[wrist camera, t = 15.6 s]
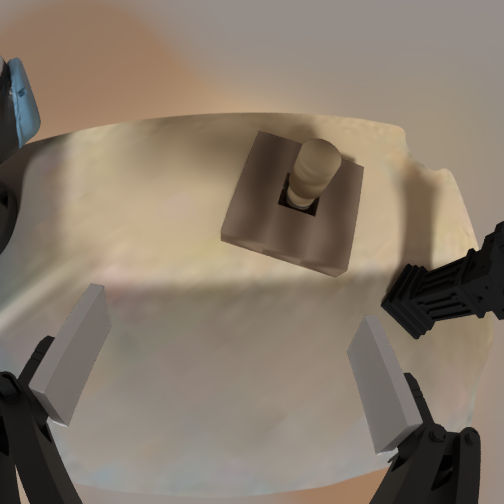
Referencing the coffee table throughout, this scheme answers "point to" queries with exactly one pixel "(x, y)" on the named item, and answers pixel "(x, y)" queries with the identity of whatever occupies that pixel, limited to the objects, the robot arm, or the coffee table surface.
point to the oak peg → (311, 173)
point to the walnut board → (289, 220)
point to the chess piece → (451, 288)
